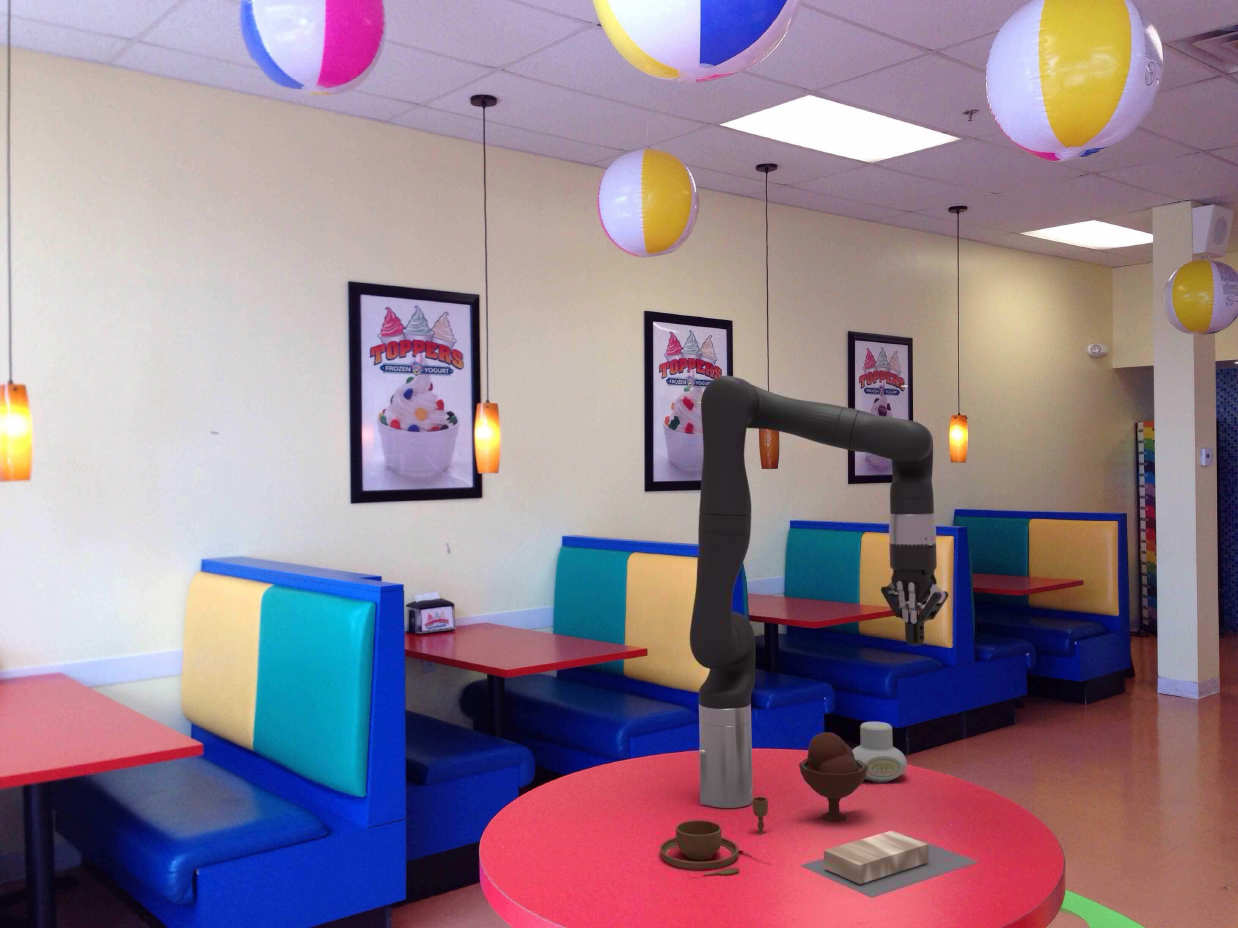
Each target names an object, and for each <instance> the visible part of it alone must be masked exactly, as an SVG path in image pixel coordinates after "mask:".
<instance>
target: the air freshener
mask: <svg viewBox="0 0 1238 928" xmlns="http://www.w3.org/2000/svg"><path fill="white" fill-rule="evenodd" d="M859 729H860V734H859V735H860V738H859V739H860V745H857V746H856V747H854V748H853V749H852V752H853V753H854V757H855V760H860V761H861V762H863V763H864V764H865V765H866V766H868V767H867V772H866V776H865V779H864V780H866V781H868V782H869V781H870V782H873V783H888V782H890V781H892V780H895V779H898V778H899V777H900V776H902V775H903V774H904V772H906V770H907V767H908V762H907V758H906V756H905V754H904V753H903V752H902V751H901V750H899V749H898V748H896V747H895V746H893V744H894V743H893V726H892V725H891V724H890V723H887V722H883V721H882V722H881V721H866V722H865V721H864V722H862V723H861V725H860V726H859Z"/></svg>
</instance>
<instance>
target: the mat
mask: <svg viewBox="0 0 1238 928" xmlns="http://www.w3.org/2000/svg"><path fill="white" fill-rule="evenodd" d="M904 835H905V836H908V837H911V838H913V839H916V840H919V841H922V842H924V843H927V844H929V862H927V863H926V864H924V865H921V866H918V867H915V868H912V869H909V870H905V871H902V872H899V873H896V874H893V875H890V876H887V877H884V878H880V879H877V880H874V881H871V882H868V883H865V884H862V885H859V884H857V883H855V882H853V881H850V880H848V879H846V878H844V877H841V876H839V875H837V874H834V873H832V872H830V871H828V870H827V869H824V857H823V858H820V859H817V860H813V861H809V862H806V863H803V864H800V866H801V867H802V868H804V869H806V870H809V871H811V872H814V873H816V874H818V875H820V876H822V877H824V878H827V879H829V880H830V881H831V880H832V881H833V882H836V883H838V884H840V885H842V886H845V887H847V888H849V889H851V890H854V891H856V892H858V893H861V894H863V895H865V896H867V897H870V898H875V897H879V896H881V895H885V894H887V893H890V892H893V891H896V890H899V889H902V888H906V887H908V886H911V885H915V884H917V883H919V882H923V881H926V880H929V879H932V878H935V877H938V876H942V875H945V874H948V873H950V872H953V871H956V870H959V869H962V868H965V867H968V866H971V865H974V864H977V863H979V861H978V860H975V859H972V858H969V857H968V856H965V855H961V854H960V853H956V852H954V851H950V850H947V849H946V848H942V847H940V846H936V845H934V844H932V843H930V842H926V841H924V840H921V839H918V838H916V837H912V836H909V835H907V834H904ZM800 866H799V867H800Z"/></svg>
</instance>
